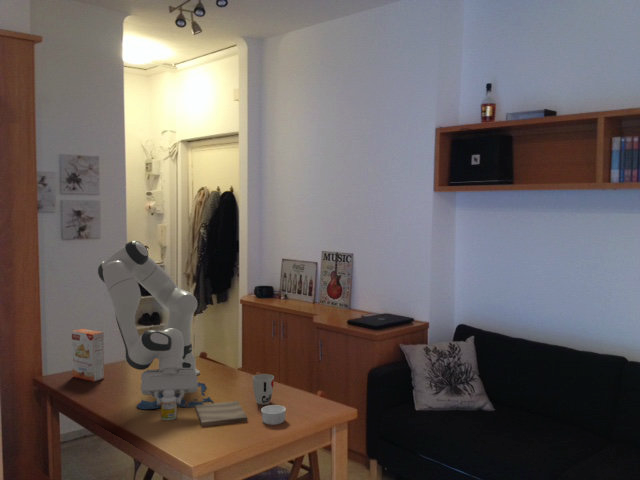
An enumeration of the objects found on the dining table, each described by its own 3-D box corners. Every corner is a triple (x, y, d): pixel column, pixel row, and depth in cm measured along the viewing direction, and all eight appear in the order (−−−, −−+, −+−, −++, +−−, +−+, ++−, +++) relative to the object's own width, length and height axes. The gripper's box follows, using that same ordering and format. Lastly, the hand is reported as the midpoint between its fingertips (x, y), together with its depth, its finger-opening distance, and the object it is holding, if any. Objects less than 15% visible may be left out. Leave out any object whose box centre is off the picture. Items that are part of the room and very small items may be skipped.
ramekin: (277, 427, 201) (277, 415, 201) (256, 422, 206) (256, 410, 206) (290, 419, 209) (290, 407, 209) (270, 414, 214) (270, 403, 213)
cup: (262, 407, 221) (262, 381, 220) (248, 402, 226) (248, 377, 226) (278, 402, 227) (278, 376, 226) (264, 397, 232) (264, 372, 232)
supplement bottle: (166, 414, 213) (166, 388, 212) (179, 416, 211) (179, 389, 211) (158, 419, 208) (158, 392, 207) (171, 421, 206) (171, 394, 206)
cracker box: (71, 377, 257) (70, 330, 256) (83, 374, 263) (82, 328, 261) (93, 382, 250) (92, 334, 249) (104, 378, 256) (104, 331, 254)
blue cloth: (204, 383, 251) (204, 381, 251) (211, 405, 224) (211, 403, 224) (138, 388, 244) (138, 386, 244) (137, 411, 216) (137, 409, 216)
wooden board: (195, 409, 218) (195, 405, 218) (237, 404, 224) (237, 401, 223) (201, 426, 201) (201, 422, 201) (247, 421, 206) (247, 417, 206)
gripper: (141, 365, 213) (137, 401, 204) (198, 363, 217) (197, 398, 208) (142, 374, 218) (139, 409, 209) (198, 372, 222) (197, 406, 213)
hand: (168, 403), depth 209 cm, fingers closed on supplement bottle, 5 cm apart
